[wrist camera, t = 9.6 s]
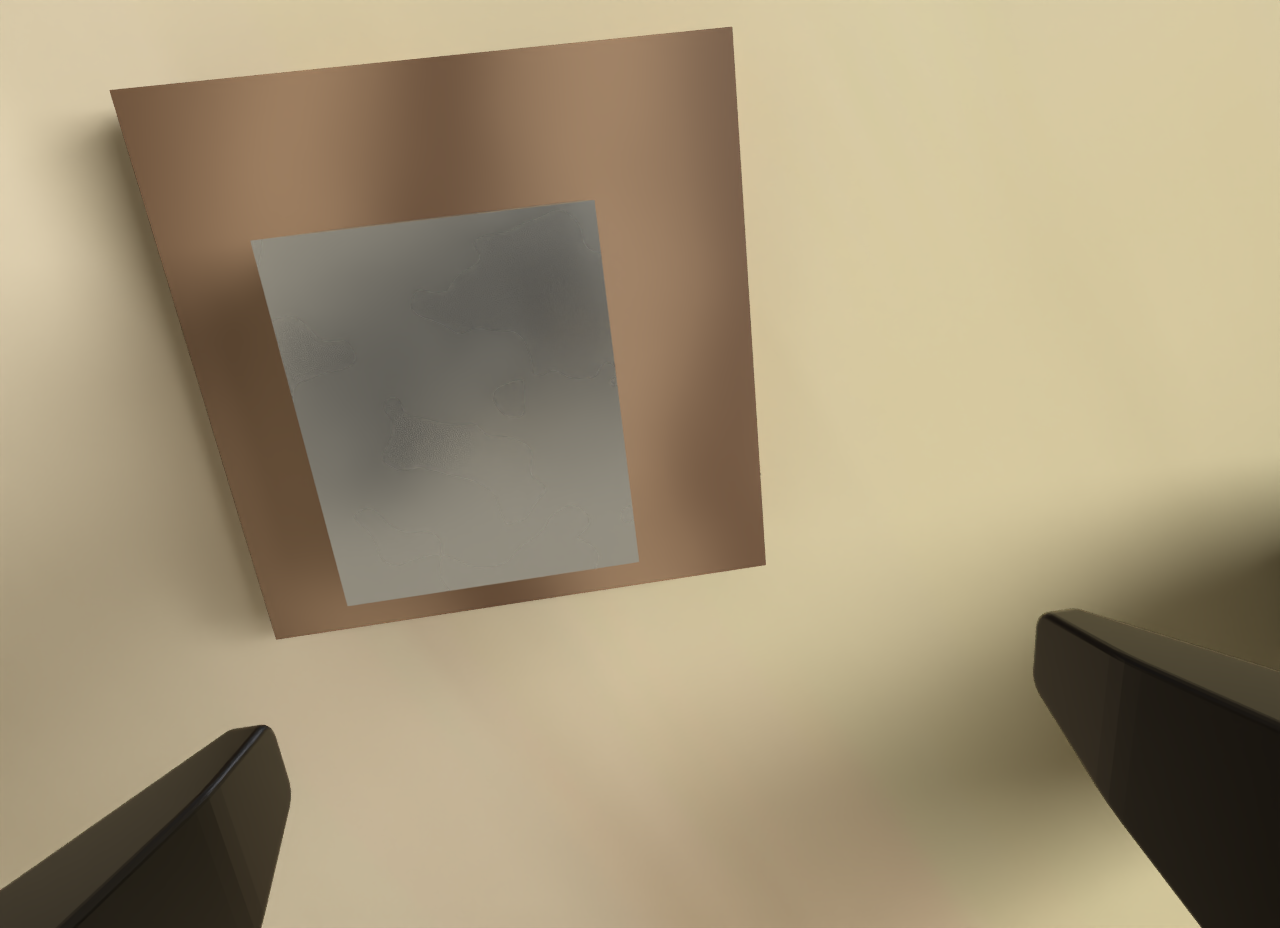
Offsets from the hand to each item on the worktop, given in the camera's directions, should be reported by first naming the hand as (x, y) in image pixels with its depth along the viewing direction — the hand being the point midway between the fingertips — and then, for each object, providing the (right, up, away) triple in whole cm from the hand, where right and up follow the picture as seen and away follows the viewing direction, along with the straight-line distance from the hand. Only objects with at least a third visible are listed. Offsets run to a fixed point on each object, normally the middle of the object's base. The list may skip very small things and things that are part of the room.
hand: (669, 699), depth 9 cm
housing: (-4, +5, +8) cm, 10 cm away
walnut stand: (-4, +6, +10) cm, 12 cm away
